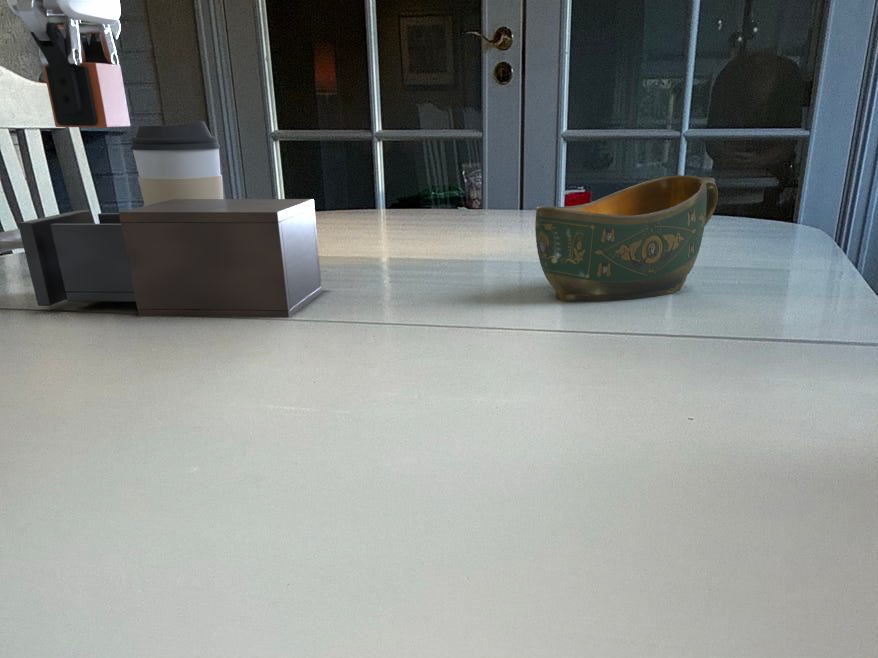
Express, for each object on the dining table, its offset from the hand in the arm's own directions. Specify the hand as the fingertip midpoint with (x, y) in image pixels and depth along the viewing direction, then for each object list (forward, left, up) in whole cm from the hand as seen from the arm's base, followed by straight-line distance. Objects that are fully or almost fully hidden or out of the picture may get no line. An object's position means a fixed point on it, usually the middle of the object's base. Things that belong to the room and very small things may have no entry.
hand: (92, 122), depth 74 cm
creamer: (+46, +12, -15) cm, 50 cm away
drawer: (-4, +4, -14) cm, 15 cm away
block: (0, 0, 0) cm, 0 cm away
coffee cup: (-1, +21, -15) cm, 26 cm away
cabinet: (+9, +4, -15) cm, 18 cm away
